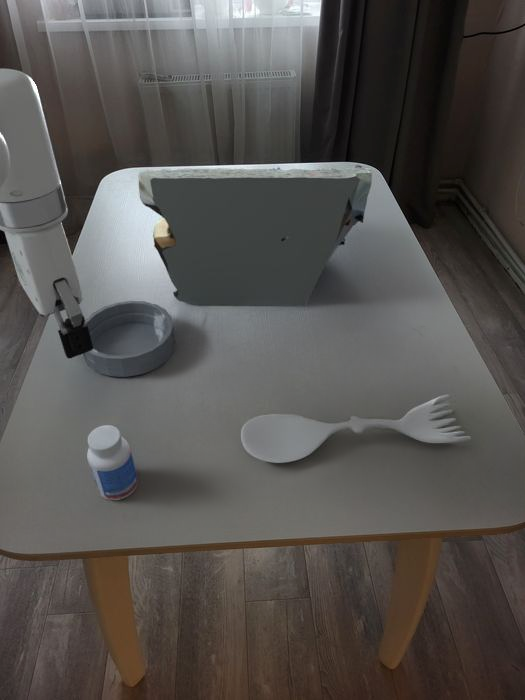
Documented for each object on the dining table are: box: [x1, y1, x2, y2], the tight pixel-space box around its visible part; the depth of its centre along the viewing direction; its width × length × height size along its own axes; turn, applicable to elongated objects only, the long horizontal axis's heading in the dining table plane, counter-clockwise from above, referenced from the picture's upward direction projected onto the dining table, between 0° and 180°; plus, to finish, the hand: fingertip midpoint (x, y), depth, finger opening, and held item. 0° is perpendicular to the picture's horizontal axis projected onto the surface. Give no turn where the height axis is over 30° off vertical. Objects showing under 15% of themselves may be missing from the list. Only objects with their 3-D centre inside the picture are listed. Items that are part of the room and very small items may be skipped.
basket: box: [137, 164, 373, 307], centre depth 107 cm, size 40×31×28 cm
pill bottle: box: [86, 424, 139, 501], centre depth 72 cm, size 6×5×10 cm
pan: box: [82, 300, 177, 378], centre depth 95 cm, size 16×16×4 cm
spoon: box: [240, 394, 472, 464], centre depth 80 cm, size 9×32×4 cm, turn 96°
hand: (65, 331), depth 69 cm, fingers open, 9 cm apart
